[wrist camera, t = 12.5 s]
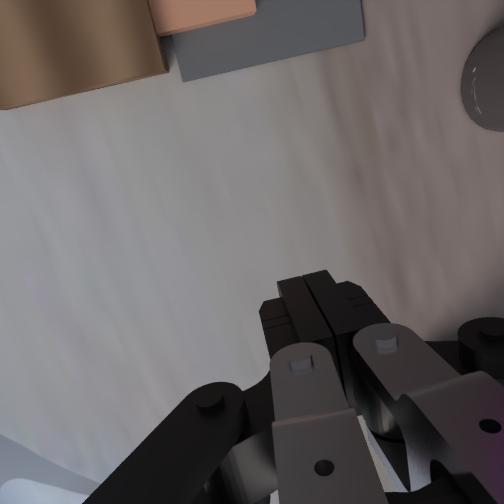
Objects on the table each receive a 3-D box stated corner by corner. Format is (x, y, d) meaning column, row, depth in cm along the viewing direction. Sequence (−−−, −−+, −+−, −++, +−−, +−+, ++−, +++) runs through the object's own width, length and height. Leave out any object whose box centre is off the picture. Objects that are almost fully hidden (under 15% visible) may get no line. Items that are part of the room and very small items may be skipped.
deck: (124, -96, 33) (114, -121, 29) (168, 72, 37) (164, 69, 33) (-58, -55, 33) (-93, -75, 29) (7, 109, 37) (-16, 110, 33)
